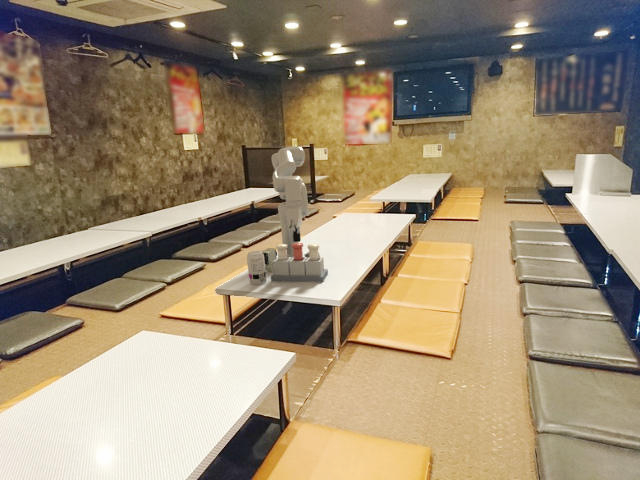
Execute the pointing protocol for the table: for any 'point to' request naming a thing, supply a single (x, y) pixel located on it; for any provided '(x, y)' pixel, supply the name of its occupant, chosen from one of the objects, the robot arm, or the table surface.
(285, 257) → the ivory plunger
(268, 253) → the pneumatic valve
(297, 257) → the red rounded knob
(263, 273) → the supplement can
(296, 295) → the table surface
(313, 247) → the ivory plunger
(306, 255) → the electrical switch
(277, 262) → the grey compartment rack
